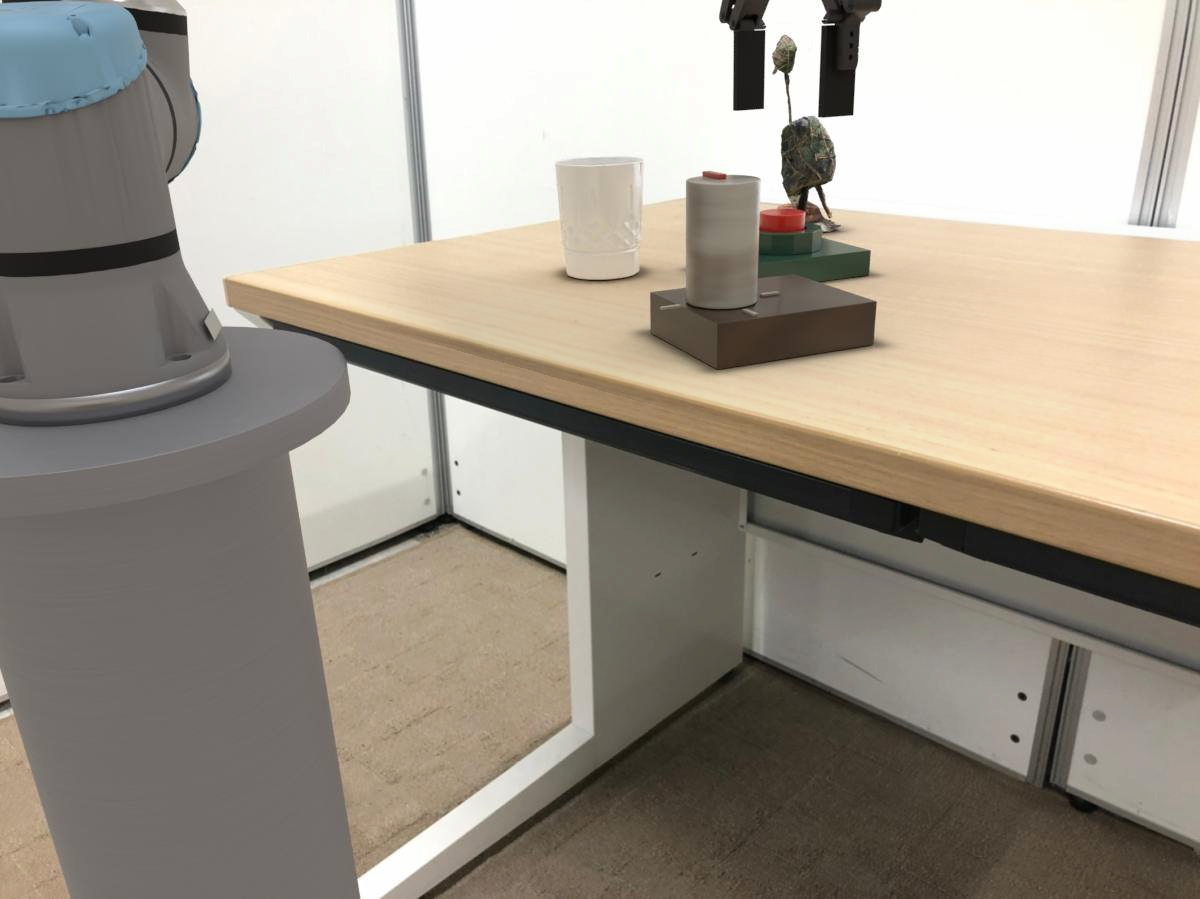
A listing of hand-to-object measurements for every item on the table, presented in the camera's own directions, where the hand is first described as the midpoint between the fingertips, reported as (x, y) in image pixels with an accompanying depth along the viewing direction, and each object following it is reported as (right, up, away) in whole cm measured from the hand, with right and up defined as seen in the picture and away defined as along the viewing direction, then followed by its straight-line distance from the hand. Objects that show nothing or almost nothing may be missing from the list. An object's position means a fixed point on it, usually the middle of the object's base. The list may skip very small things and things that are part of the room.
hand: (788, 113), depth 82 cm
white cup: (-15, -12, +9) cm, 21 cm away
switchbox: (0, -12, +7) cm, 14 cm away
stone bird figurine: (+7, -4, +27) cm, 28 cm away
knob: (-7, -18, -15) cm, 25 cm away
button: (0, -9, +5) cm, 10 cm away
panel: (-5, -20, -13) cm, 25 cm away
